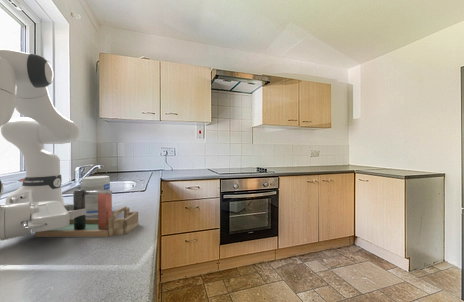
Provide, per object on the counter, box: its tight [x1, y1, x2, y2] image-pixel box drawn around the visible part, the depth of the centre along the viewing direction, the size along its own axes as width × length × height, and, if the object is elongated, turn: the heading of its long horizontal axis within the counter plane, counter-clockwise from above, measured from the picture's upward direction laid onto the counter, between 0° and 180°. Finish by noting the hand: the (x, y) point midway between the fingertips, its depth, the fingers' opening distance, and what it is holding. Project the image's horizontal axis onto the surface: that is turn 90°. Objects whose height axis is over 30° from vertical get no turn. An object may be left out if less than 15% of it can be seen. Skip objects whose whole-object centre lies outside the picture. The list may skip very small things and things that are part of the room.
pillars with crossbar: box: [72, 188, 113, 230], centre depth 66 cm, size 12×3×12 cm, turn 90°
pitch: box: [34, 217, 124, 238], centre depth 67 cm, size 21×11×2 cm, turn 90°
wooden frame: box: [108, 205, 139, 237], centre depth 66 cm, size 4×11×7 cm, turn 179°
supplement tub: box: [80, 175, 111, 217], centre depth 84 cm, size 10×10×15 cm
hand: (83, 208), depth 67 cm, fingers open, 6 cm apart
